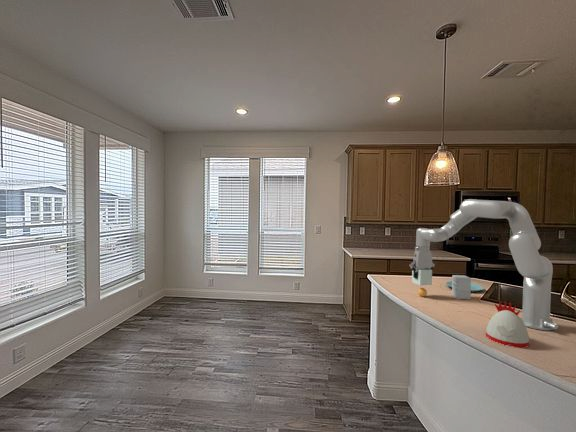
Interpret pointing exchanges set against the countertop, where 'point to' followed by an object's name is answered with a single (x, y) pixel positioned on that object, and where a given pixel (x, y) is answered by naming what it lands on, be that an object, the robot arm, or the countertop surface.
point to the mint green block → (423, 277)
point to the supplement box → (461, 287)
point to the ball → (422, 292)
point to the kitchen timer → (507, 327)
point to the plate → (473, 286)
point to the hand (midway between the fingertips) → (421, 277)
